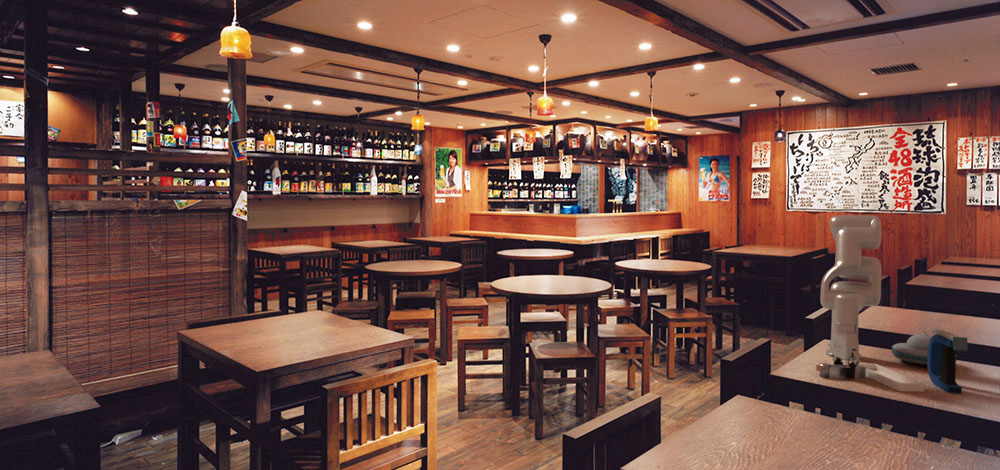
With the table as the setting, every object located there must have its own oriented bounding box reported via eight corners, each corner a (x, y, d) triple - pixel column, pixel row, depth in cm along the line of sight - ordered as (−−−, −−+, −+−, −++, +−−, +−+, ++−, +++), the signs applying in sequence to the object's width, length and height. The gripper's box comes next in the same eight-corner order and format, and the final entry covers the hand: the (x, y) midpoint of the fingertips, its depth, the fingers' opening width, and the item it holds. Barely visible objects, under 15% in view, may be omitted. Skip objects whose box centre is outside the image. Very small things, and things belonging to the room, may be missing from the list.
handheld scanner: (950, 394, 180) (954, 337, 179) (924, 379, 196) (928, 326, 195) (966, 396, 179) (970, 338, 178) (939, 381, 195) (943, 327, 193)
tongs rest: (853, 370, 207) (853, 363, 207) (875, 370, 207) (875, 363, 207) (898, 391, 183) (899, 383, 183) (923, 391, 183) (924, 383, 183)
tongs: (819, 377, 197) (819, 365, 197) (813, 374, 201) (814, 363, 201) (865, 378, 197) (866, 366, 197) (859, 375, 201) (859, 363, 201)
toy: (970, 371, 206) (972, 333, 205) (916, 371, 206) (918, 332, 205) (928, 356, 226) (930, 321, 226) (879, 356, 227) (881, 321, 226)
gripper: (821, 322, 207) (819, 368, 208) (851, 333, 189) (849, 383, 190) (841, 322, 207) (839, 368, 208) (872, 333, 190) (870, 383, 190)
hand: (843, 374), depth 199 cm, fingers open, 6 cm apart
